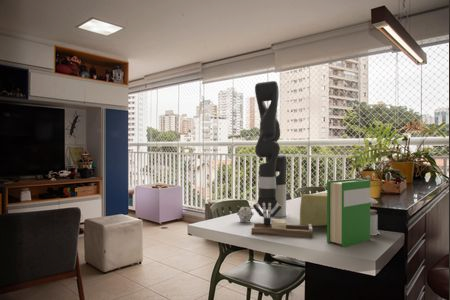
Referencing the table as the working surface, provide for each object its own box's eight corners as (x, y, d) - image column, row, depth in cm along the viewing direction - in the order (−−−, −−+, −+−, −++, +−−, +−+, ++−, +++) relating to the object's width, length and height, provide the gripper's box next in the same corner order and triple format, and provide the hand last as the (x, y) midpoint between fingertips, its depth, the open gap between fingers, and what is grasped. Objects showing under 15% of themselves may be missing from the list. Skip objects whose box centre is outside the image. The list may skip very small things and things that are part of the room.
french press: (366, 236, 133) (366, 176, 133) (348, 229, 144) (348, 174, 144) (385, 234, 135) (385, 176, 135) (366, 227, 146) (366, 174, 146)
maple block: (272, 228, 141) (272, 219, 141) (286, 228, 140) (286, 219, 140) (271, 231, 135) (271, 222, 135) (285, 232, 134) (285, 222, 134)
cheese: (306, 229, 144) (306, 196, 144) (294, 224, 153) (294, 193, 153) (345, 225, 152) (345, 194, 152) (332, 220, 161) (332, 191, 161)
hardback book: (343, 247, 117) (343, 182, 117) (326, 242, 123) (327, 181, 123) (370, 239, 127) (370, 180, 127) (353, 235, 133) (353, 178, 133)
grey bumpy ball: (247, 228, 159) (258, 211, 162) (247, 226, 152) (258, 208, 154) (232, 218, 162) (243, 202, 164) (231, 216, 154) (242, 199, 156)
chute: (254, 228, 145) (254, 220, 145) (311, 231, 140) (311, 223, 140) (251, 234, 135) (251, 225, 135) (312, 237, 130) (312, 229, 130)
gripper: (282, 186, 141) (282, 225, 141) (253, 185, 144) (253, 223, 144) (282, 188, 134) (282, 229, 134) (251, 187, 137) (251, 227, 137)
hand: (267, 226), depth 139 cm, fingers closed
